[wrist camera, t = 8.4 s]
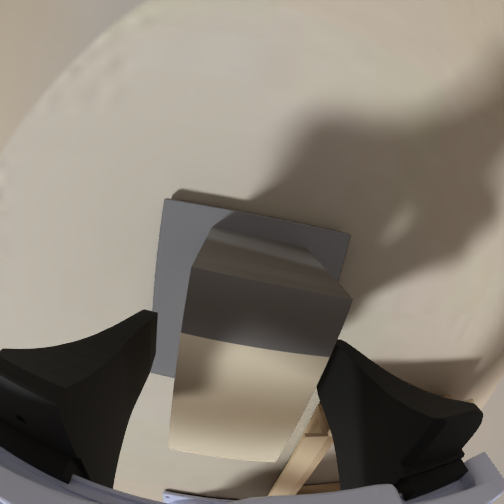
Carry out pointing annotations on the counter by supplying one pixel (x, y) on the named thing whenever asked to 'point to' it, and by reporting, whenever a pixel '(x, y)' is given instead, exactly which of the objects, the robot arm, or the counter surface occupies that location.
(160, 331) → the mat
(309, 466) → the square wooden frame
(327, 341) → the box
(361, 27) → the counter surface
